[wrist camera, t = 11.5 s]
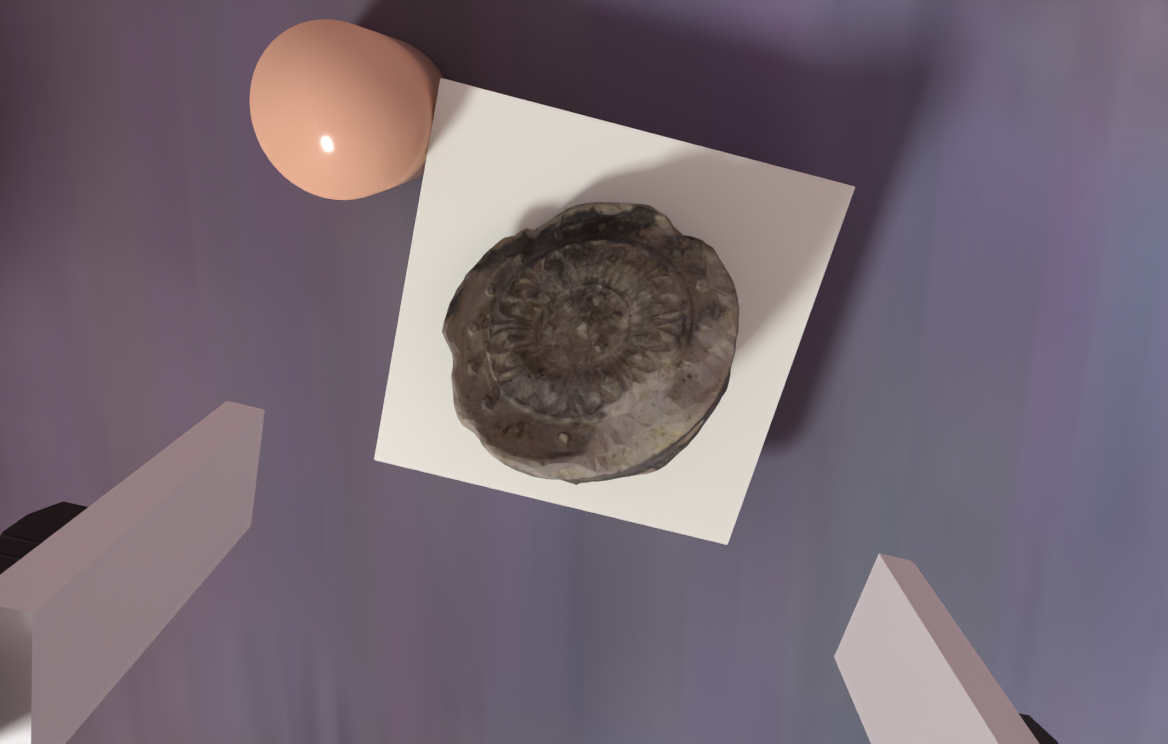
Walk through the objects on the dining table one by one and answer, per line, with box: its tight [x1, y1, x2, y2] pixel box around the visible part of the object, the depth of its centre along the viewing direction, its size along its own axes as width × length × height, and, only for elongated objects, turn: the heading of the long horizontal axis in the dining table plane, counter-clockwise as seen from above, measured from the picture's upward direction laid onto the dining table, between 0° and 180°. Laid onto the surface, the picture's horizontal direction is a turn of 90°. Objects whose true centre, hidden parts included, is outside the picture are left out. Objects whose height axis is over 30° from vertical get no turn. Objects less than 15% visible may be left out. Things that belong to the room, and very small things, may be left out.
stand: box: [374, 78, 855, 545], centre depth 33 cm, size 16×16×4 cm
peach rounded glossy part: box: [250, 19, 444, 200], centre depth 30 cm, size 6×6×6 cm
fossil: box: [442, 202, 739, 485], centre depth 28 cm, size 11×9×10 cm
